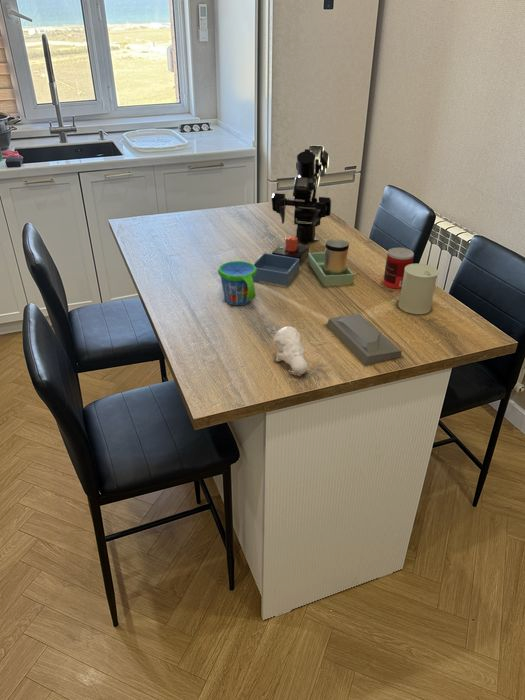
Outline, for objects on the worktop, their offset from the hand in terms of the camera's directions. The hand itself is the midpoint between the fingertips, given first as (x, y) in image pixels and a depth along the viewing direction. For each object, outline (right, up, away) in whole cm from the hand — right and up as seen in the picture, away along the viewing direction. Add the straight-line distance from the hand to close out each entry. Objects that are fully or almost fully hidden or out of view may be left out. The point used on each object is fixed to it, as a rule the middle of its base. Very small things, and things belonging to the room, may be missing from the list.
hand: (297, 224), depth 170 cm
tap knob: (-1, -5, +14) cm, 15 cm away
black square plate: (-1, -8, +15) cm, 17 cm away
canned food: (+30, -19, -1) cm, 36 cm away
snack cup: (-18, -25, -11) cm, 33 cm away
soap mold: (+15, -37, -29) cm, 49 cm away
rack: (+11, -15, +5) cm, 19 cm away
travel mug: (+11, -17, +1) cm, 20 cm away
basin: (-7, -16, +3) cm, 18 cm away
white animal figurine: (-4, -43, -39) cm, 58 cm away
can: (+33, -27, -12) cm, 44 cm away
